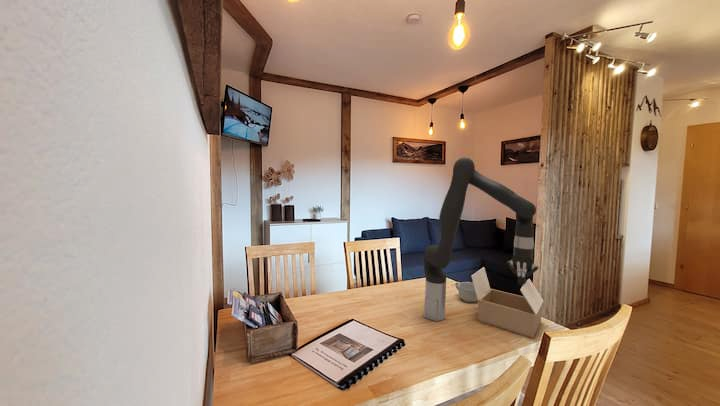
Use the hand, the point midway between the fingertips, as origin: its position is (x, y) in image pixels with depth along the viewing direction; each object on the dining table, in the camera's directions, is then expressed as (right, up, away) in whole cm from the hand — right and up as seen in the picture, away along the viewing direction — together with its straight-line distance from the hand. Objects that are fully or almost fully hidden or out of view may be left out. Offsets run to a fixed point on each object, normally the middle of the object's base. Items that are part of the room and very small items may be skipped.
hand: (521, 284), depth 130 cm
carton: (-4, -18, +2) cm, 18 cm away
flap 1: (-14, -2, +9) cm, 17 cm away
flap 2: (+2, -4, -4) cm, 6 cm away
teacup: (-15, -16, +27) cm, 34 cm away
